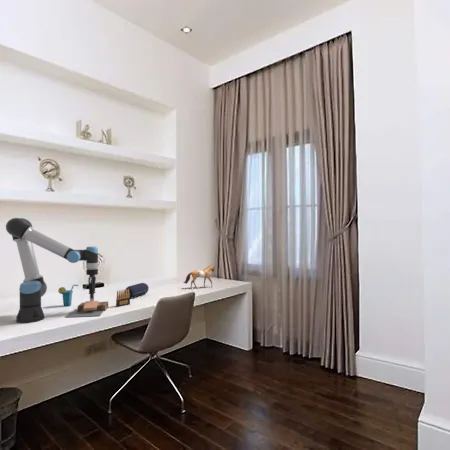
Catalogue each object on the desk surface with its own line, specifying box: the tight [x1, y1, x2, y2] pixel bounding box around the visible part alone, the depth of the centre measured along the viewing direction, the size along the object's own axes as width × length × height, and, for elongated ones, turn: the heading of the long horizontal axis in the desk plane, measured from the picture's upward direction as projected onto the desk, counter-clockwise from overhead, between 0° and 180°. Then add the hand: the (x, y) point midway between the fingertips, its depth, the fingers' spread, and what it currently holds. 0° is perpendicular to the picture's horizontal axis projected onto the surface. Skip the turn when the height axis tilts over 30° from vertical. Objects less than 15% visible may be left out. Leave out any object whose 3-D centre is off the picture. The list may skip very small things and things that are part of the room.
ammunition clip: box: [115, 288, 131, 308], centre depth 250 cm, size 11×2×12 cm, turn 140°
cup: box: [58, 284, 79, 308], centre depth 251 cm, size 14×8×15 cm, turn 134°
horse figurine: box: [183, 265, 215, 289], centre depth 323 cm, size 31×8×21 cm, turn 109°
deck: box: [77, 301, 109, 312], centre depth 238 cm, size 18×12×4 cm, turn 99°
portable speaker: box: [124, 282, 150, 299], centre depth 285 cm, size 25×10×10 cm, turn 161°
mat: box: [64, 311, 104, 319], centre depth 224 cm, size 21×12×1 cm, turn 99°
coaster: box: [83, 300, 99, 311], centre depth 230 cm, size 8×8×2 cm
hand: (92, 302), depth 235 cm, fingers closed
